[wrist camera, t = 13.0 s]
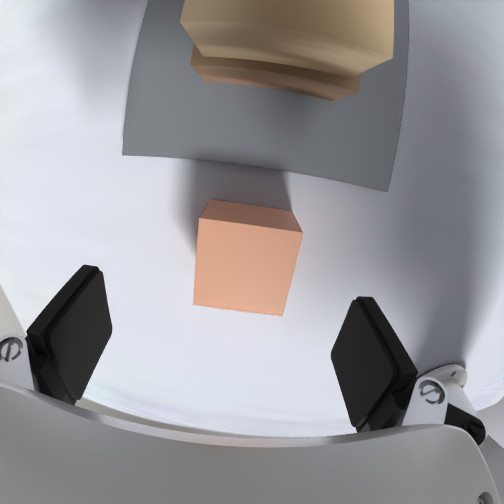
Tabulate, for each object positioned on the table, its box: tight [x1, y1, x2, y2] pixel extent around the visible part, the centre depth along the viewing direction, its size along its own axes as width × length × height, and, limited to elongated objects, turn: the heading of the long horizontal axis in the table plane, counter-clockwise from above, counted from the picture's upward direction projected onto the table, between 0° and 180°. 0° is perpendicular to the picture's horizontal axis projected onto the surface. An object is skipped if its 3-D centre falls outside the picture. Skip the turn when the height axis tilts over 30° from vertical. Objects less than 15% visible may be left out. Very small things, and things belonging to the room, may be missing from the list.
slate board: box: [122, 0, 409, 192], centre depth 12 cm, size 16×16×1 cm
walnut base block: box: [190, 43, 361, 101], centre depth 10 cm, size 7×7×4 cm
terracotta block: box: [193, 199, 303, 316], centre depth 16 cm, size 5×5×4 cm
